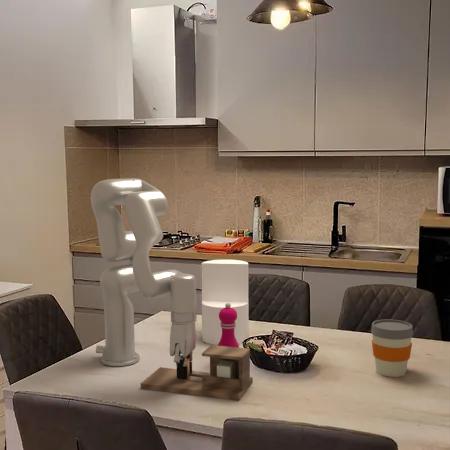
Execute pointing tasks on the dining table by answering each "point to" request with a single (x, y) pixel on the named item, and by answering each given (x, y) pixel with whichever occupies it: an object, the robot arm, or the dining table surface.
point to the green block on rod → (223, 369)
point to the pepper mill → (228, 326)
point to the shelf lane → (207, 384)
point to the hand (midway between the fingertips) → (184, 376)
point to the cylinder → (224, 298)
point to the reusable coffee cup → (391, 346)
